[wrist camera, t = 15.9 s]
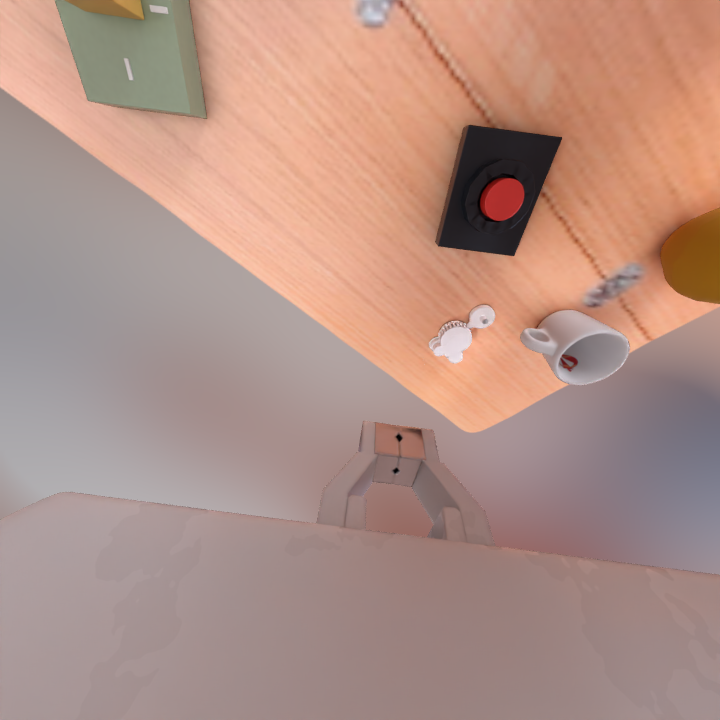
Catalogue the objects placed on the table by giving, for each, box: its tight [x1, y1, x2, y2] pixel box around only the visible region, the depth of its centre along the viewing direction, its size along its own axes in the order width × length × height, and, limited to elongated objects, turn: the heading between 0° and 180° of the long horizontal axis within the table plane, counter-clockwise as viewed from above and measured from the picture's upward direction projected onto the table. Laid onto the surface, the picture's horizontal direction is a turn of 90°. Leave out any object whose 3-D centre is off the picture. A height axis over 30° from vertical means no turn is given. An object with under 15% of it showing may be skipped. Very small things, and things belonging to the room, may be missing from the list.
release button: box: [480, 178, 524, 221], centre depth 28 cm, size 4×4×2 cm
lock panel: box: [55, 0, 207, 119], centre depth 24 cm, size 13×10×3 cm
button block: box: [435, 125, 562, 256], centre depth 30 cm, size 11×9×4 cm
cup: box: [520, 310, 630, 385], centre depth 37 cm, size 11×8×8 cm
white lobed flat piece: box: [423, 305, 495, 363], centre depth 41 cm, size 9×9×2 cm
